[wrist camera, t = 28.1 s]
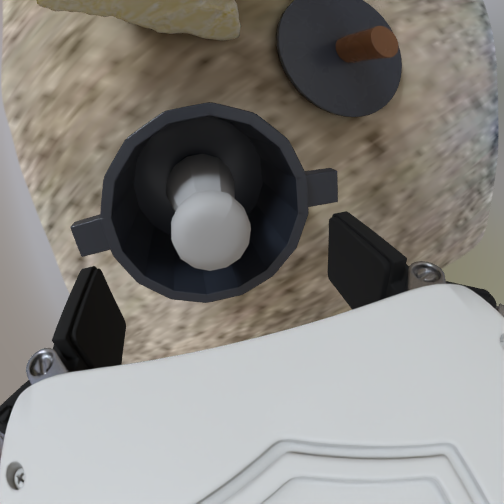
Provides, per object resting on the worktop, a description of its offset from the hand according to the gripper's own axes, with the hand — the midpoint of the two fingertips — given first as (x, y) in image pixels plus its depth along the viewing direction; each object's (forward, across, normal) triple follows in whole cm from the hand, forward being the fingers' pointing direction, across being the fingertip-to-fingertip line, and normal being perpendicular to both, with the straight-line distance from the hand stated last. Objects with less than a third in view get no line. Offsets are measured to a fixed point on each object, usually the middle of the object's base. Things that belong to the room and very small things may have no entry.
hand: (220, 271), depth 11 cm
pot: (+17, 0, +1) cm, 17 cm away
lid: (+17, -16, -11) cm, 26 cm away
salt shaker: (+17, 0, +1) cm, 17 cm away
